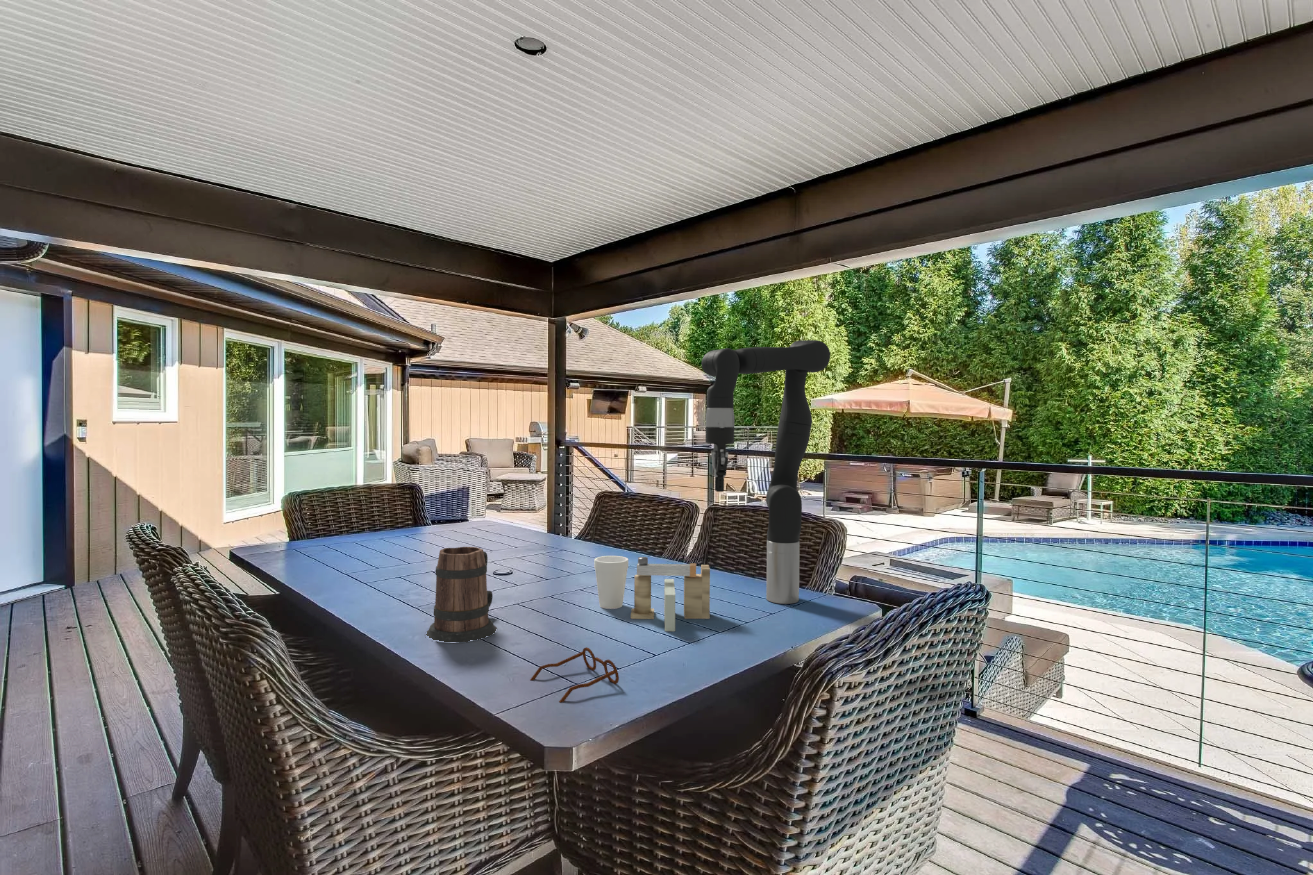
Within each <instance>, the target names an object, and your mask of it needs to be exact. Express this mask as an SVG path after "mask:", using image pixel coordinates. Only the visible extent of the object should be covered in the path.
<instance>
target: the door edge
mask: <svg viewBox="0 0 1313 875" xmlns="http://www.w3.org/2000/svg"><path fill="white" fill-rule="evenodd" d="M663 581H664V591H663V592H664V593H663V594H664V597H663V598H664V601H663V603H664V606H663V613H664V614H663V615H664V616H663V617H664V619H663V620H664V632H676V590H675V589H676V588H675V579H674V578H664V580H663Z"/></svg>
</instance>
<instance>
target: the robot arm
mask: <svg viewBox="0 0 1313 875" xmlns="http://www.w3.org/2000/svg"><path fill="white" fill-rule="evenodd" d="M830 360H831V351H830V348H829V346H828V345H827V344H826V343H825V342H823V341H821V340H816V339H807V340H806V339H805V340H804V339H803V340H795V341H794V342H792V343H791V344H790V345H789V346H783V347H782V346H781V347H780V346H777V347H776V346H756V347H755V346H754V347H751V346H750V347H743V348H739V349H732V348H730V347H729V348H727V347H725V348H721V349H714V350H710V351H708V352H706V354H704V355H703V357H702V359H701V369H702V370H703V372H704V373H705V374H706V375H708V376H710V377H715V380H714V383H713V385H710V386H709V387H708V388H707V391H706V411H705V440H704V441H705V443H706V444H709V445H713V450H711V452H710V453H711V461H712V462H711V465H712V474H713V477H714V491H715V492H717V493H722V492H724V491H725V477H726V475H727V471H728V470H727V469H728V468H727V467H728V464H729V463H728V461H729V451H728V450H727V448H726V445H732V444H734V443H735V413H734V398H735V397H734V391H735V388H736V385H737V383H738V382H737V381H738V376H739V374H741V375H752V374H762V373H770V372H777V371H778V372H779V371H784V389H783V395H782V396H783V397H782V404H781V411H780V416H779V420H778V427H777V434H776V443H775V451H774V465H773V469H772V474H771V478H770V482H769V486H768V489H767V493H766V497H765V502H766V506H767V508H768V527H767V528H768V529H767V532H766V586H765V587H766V590H765V591H766V595H765V596H766V601H769V602H772V603H774V604H781V605H783V604H784V605H789V604H795V603H798V602H799V600H800V596H799V595H800V591H799V590H800V539H801V538H800V537H801V536H800V535H801V531H802V520H803V519H802V518H803V517H802V515H803V514H802V513H803V509H802V508H803V503H802V498H801V495H800V493H799V492H798V478H799V476H798V475H799V471H800V467H801V464H802V462H803V459H804V456H805V454H806V452H807V448H808V445H809V442H810V436H811V430H812V425H813V416H812V412H811V408H810V405H809V402H808V399H807V396H806V383H807V382H806V381H807V375H808V373H819V372H821V371H823V370H825V369H826V368H827V366H828V365H829V363H830Z"/></svg>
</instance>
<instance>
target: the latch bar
mask: <svg viewBox="0 0 1313 875" xmlns="http://www.w3.org/2000/svg"><path fill="white" fill-rule="evenodd" d="M696 574H697V563H695V562H694V563H693V562H692V563H691V562H690V563H687V564H686V563H685V564H684V563H681V564H680V563H649V557H647V556H639V557H637V564H636V575H651V576H663V577H664V576H668V577H669V576H670V577H671V576H673V577H679V576H680V577H684V576H690V577H696Z"/></svg>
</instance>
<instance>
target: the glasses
mask: <svg viewBox="0 0 1313 875" xmlns="http://www.w3.org/2000/svg"><path fill="white" fill-rule="evenodd" d="M586 652H588V653H589V655H590V656H591V659H592V664H593V665H590V663H589V662H588V659H587V657H586V656H587V655H586ZM581 656H582V658H583V661H584V664H585V666H586V667H587V669H589V670H591V671H592V672H593V671H595V670H596V669H597V662H598V663H600V664H601V666H603V669H604V673H605V674H603V675H601V676H599V677H596V678H595V679H593V680H591V681H589V682H585V683H579V684H576V685H574V686H573V685H572V686H571V687H569V688H568V690H567V691H566V692H565V693H564V694H563V695H562V697H561V698H560V700H559V701H558V702H559V703H564V702H565V701H566V699H568V697H569V696H570V695H571V693H572V692H573V691H575V690H577V689H580V688H589V687H591V686H594V684H597V683H599V682H601V681H603V680H605V679H607V680H608V681H609V682H611V683H612V684H614V685H616V684H618V683H619V680H620V679H619V678H620V677H619V676H620V675H619V671H618V669H617V666H616V665H615V663H614V662H613V661H612V660H610V659H606V660H603V659H601V658H599V657H596V656H595V654H594V652H593V651H592V650H591V649H590V647H588V646H587V647H584V648H582V651H580V652H579V653H576V654H574V655H572V656H569V657H566V659H563V660H561V661H558V662H557V663H547V664H543V665H541V666H539V667H538V668H537V670H536V671H535V672H534V673H533V674H532V676H531V677H530V679H529V681H534V680H536V679H537V677H538V675H539V674H540V673H541V672H542V670H543V669H548V668H553V667H555V668H556V667H560V666H562V665H564V664H567V663H568V662H571V661H573V660H575V659H578V658H580V657H581ZM608 664H609V665H610V666H611V667H612V669H613V670H611V671H608V666H607V665H608ZM613 675H615V680H614V679H613V678H612V677H611V676H613Z"/></svg>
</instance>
